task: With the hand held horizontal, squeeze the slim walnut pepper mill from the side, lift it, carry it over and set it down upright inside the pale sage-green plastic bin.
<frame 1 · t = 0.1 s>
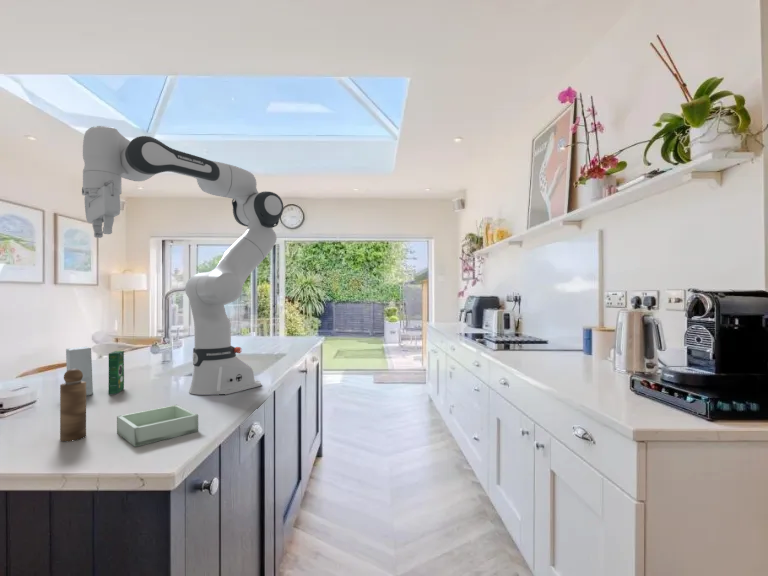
hand: (102, 235, 114), 48 cm above the countertop, tool pointing down, fingers open, 8 cm apart
skincare box: (79, 395, 132), on the countertop
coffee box: (116, 392, 135), on the countertop
mill: (73, 437, 92), on the countertop
bin: (157, 432, 95), on the countertop
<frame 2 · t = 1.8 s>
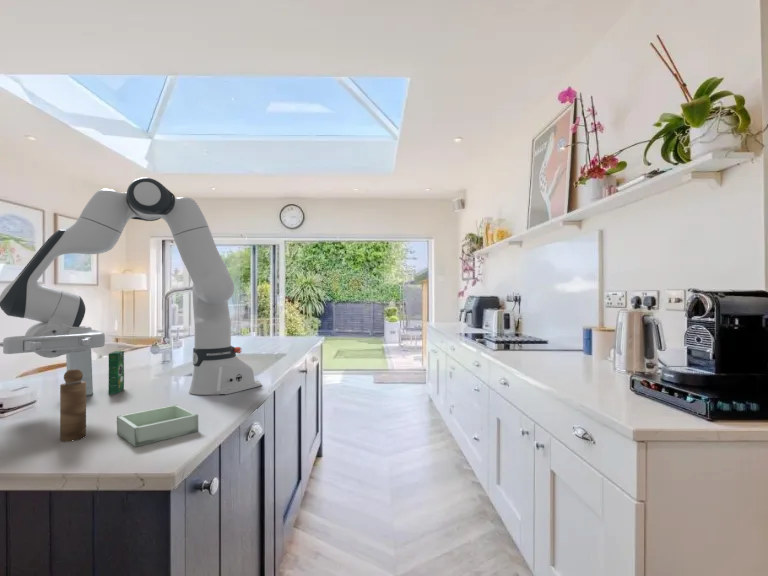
hand: (62, 344, 100), 20 cm above the countertop, tool horizontal, fingers open, 8 cm apart
nothing on the countertop moved.
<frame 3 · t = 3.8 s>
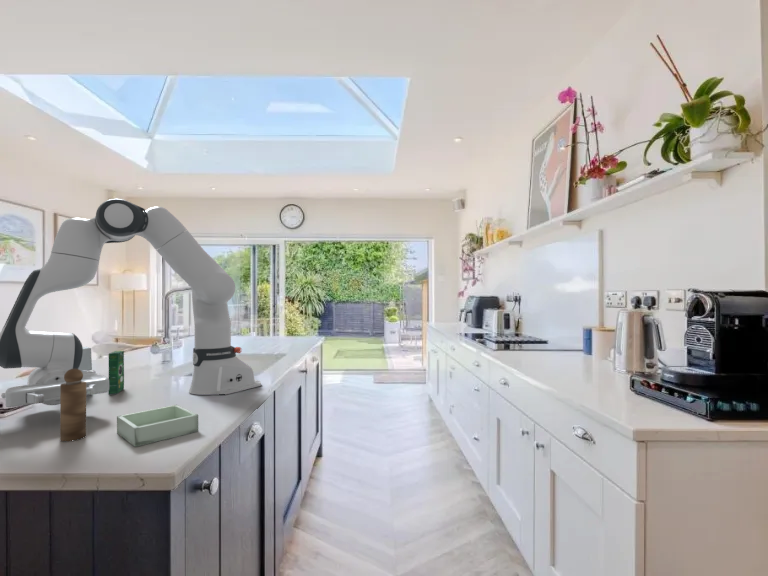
hand: (65, 395, 97), 8 cm above the countertop, tool horizontal, fingers open, 8 cm apart
nothing on the countertop moved.
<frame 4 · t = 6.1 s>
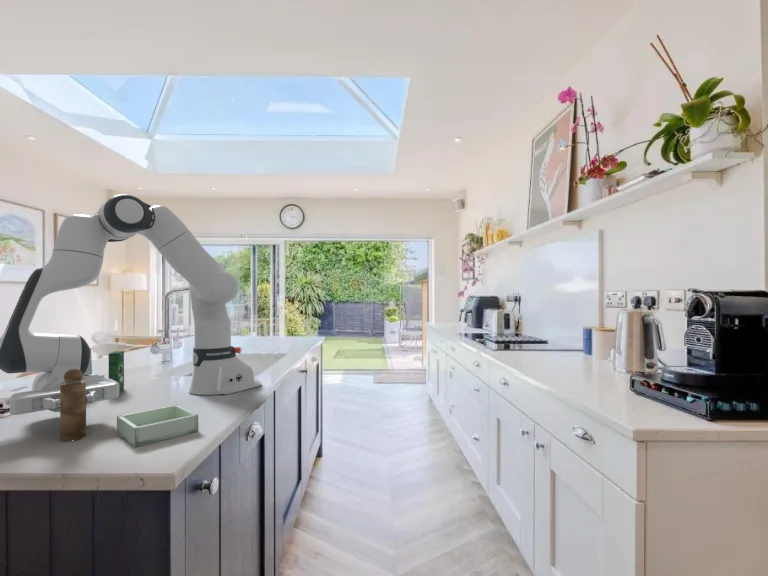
hand: (74, 402, 91), 8 cm above the countertop, tool horizontal, fingers closed on mill, 5 cm apart
mill: (73, 437, 92), on the countertop, touching gripper
everything else where it was.
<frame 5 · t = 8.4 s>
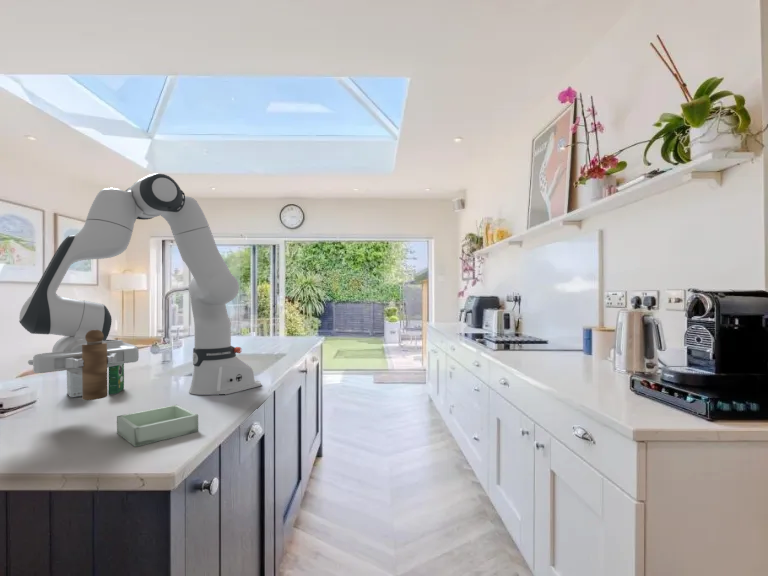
hand: (96, 362, 92), 17 cm above the countertop, tool horizontal, fingers closed on mill, 5 cm apart
mill: (95, 397, 93), point 9 cm above the countertop, touching gripper
everything else where it was.
when the fingers open (10 cm above the countertop, at t = 10.8 s): mill drops 1 cm, resting on bin.
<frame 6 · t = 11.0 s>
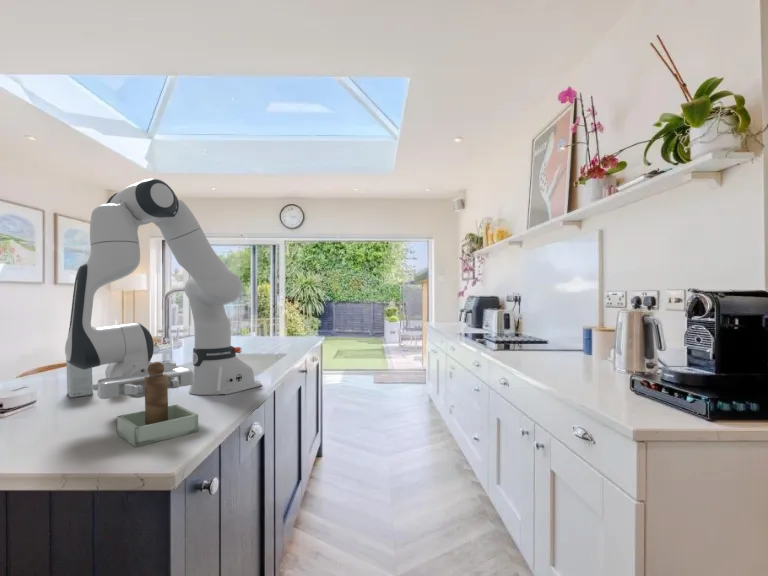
hand: (158, 387, 95), 10 cm above the countertop, tool horizontal, fingers open, 6 cm apart
mill: (157, 427, 95), point 1 cm above the countertop, touching bin
everything else where it was.
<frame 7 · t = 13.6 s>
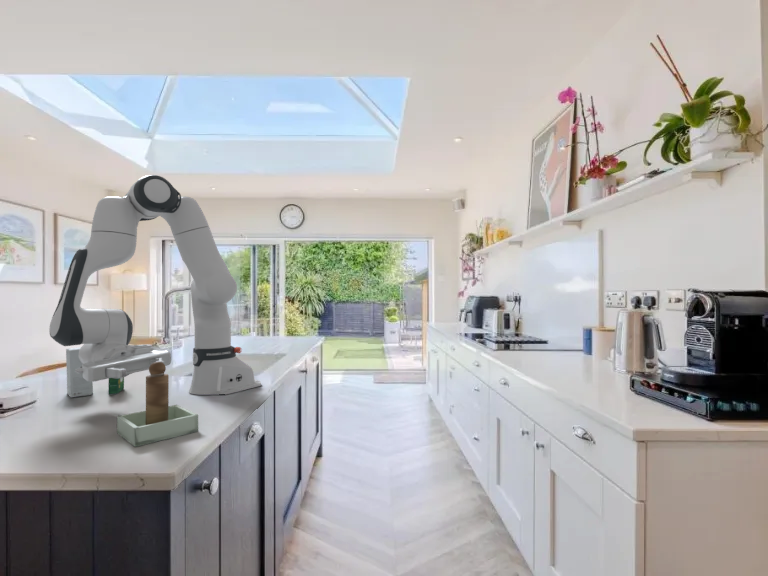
hand: (143, 369, 104), 13 cm above the countertop, tool horizontal, fingers open, 8 cm apart
nothing on the countertop moved.
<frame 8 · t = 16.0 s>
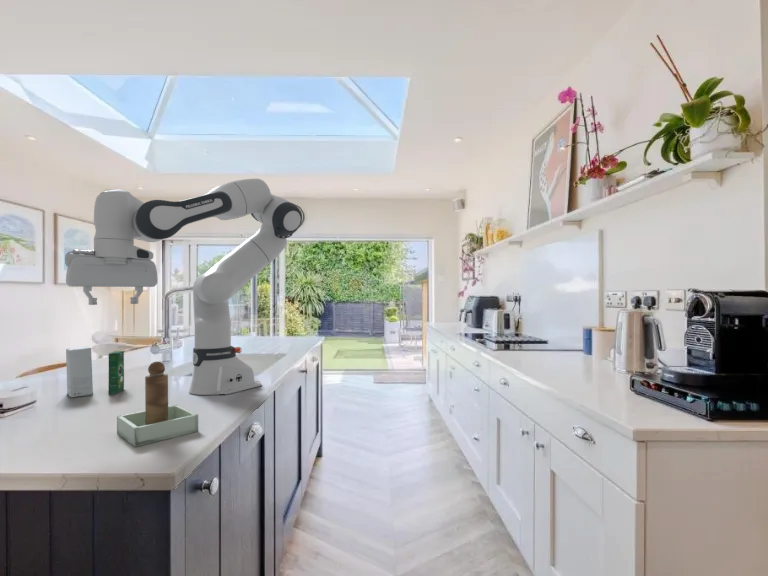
hand: (114, 304, 109), 29 cm above the countertop, tool pointing down, fingers open, 8 cm apart
nothing on the countertop moved.
at the end: mill inside the target area on the bin (0.5 cm from its centre), point 0.8 cm above the bin's base; mill tilted 0°; the gripper is holding nothing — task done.
